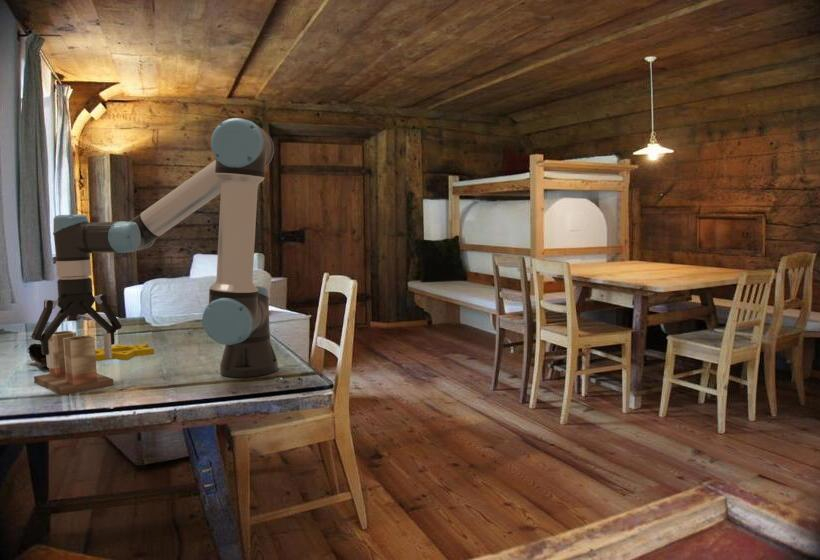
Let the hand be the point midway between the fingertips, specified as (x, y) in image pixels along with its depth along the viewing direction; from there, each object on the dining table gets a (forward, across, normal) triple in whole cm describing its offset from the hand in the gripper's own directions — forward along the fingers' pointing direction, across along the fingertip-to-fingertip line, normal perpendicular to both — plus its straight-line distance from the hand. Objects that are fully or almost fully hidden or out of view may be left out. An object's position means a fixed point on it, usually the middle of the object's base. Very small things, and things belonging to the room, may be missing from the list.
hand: (80, 362), depth 158 cm
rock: (+7, -7, -34) cm, 35 cm away
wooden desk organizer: (+6, 0, -6) cm, 9 cm away
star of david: (+7, -24, -33) cm, 41 cm away
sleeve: (+5, 0, 0) cm, 5 cm away
